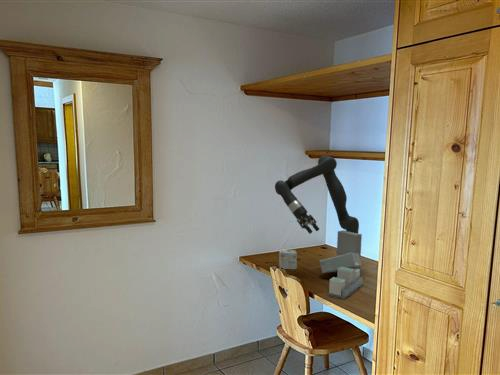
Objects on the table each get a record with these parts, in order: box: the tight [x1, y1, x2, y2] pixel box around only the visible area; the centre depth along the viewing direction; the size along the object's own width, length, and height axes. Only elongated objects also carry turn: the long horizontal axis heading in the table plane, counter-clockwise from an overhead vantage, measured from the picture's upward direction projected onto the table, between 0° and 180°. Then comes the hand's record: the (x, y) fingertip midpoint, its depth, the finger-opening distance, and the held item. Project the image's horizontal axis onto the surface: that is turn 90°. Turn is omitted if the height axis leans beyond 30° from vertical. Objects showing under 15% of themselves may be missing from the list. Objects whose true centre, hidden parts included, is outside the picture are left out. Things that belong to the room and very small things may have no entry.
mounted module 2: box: [349, 267, 361, 282], centre depth 220 cm, size 5×6×7 cm
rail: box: [327, 276, 364, 300], centre depth 212 cm, size 26×9×4 cm, turn 144°
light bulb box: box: [278, 249, 298, 270], centre depth 248 cm, size 11×7×11 cm, turn 92°
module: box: [336, 267, 354, 288], centre depth 212 cm, size 5×7×10 cm
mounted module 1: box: [328, 276, 345, 296], centre depth 203 cm, size 5×6×7 cm
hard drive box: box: [319, 253, 363, 274], centre depth 230 cm, size 16×8×20 cm
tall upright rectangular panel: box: [336, 229, 362, 275], centre depth 239 cm, size 14×6×25 cm, turn 41°
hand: (314, 231), depth 222 cm, fingers open, 8 cm apart
